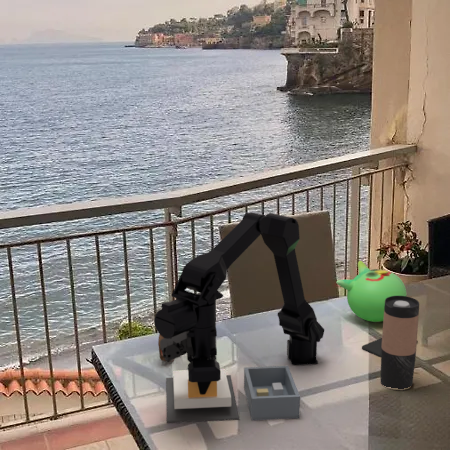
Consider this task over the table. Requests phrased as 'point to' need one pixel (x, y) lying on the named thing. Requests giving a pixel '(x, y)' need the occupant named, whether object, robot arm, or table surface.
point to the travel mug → (399, 341)
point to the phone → (374, 347)
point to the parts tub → (271, 393)
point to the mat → (199, 413)
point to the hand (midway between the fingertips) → (202, 392)
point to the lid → (191, 397)
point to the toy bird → (371, 292)
